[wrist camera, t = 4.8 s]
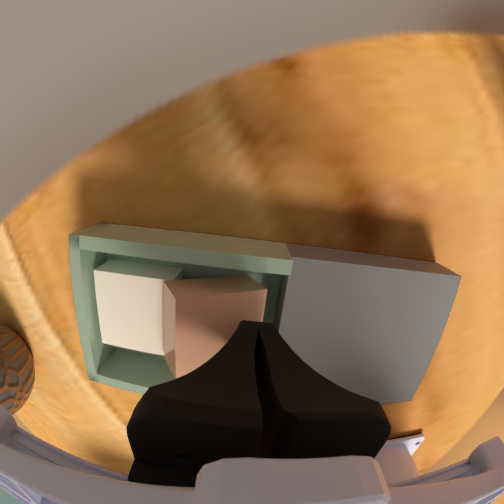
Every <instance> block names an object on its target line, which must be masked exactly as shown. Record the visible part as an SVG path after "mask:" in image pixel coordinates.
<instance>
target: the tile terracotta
mask: <svg viewBox="0 0 504 504" xmlns="http://www.w3.org/2000/svg"><path fill="white" fill-rule="evenodd" d="M266 296H267V288H265V287H264V286H262V285H261V284H259V283H258V282H256V281H255V280H253V279H252V278H250V277H249V276H248V275H237V276H225V277H211V278H197V279H183V280H168V281H163V325H164V356H165V360H166V362H167V364H168V366H169V368H170V370H171V372H172V374H173V376H174V378H175V379H177V378H179V377H181V376H184V375H186V374H188V373H190V372H192V371H193V370H195V369H197V368H198V367H200V366H201V365H202V364H204V363H205V362H207V361H208V360H209V359H210V358H212V357H213V356H214V355H215V354H216V353H217V352H218V351H219V350H220V349H221V348H222V347H223V346H224V345H225V344H226V343H227V342H228V340H229V339H230V338H231V336H232V335H233V334H234V332H235V331H236V329H237V327H238V325H239V322H240V321H242V320H247V321H257V322H263V316H264V309H265V303H266Z"/></svg>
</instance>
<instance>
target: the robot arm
mask: <svg viewBox="0 0 504 504" xmlns="http://www.w3.org/2000/svg"><path fill="white" fill-rule="evenodd" d="M390 433H391V425H390V423H389V421H388V419H387V416H386V414H385V412H384V410H383V408H382V406H381V405H380V403H379V401H376V400H373V399H370V398H367V397H364V396H361V395H358V394H356V393H353V392H351V391H349V390H347V389H345V388H342V387H341V386H339V385H337V384H335V383H333V382H332V381H330V380H328V379H327V378H325V377H324V376H322V375H321V374H319V373H318V372H316V371H315V370H314V369H313V368H311V367H310V366H309V365H308V364H306V363H305V362H304V361H303V360H302V359H301V358H300V357H299V356H298V355H297V354H296V353H295V352H294V351H293V350H292V349H291V348H290V346H289V345H288V344H287V343H286V341H285V340H284V339H283V338H282V336H281V335H280V334H279V332H278V331H277V329H276V328H275V326H274V325H273V324H272V323H267V322H257V321H247V320H242V321H240V322H239V325H238V327H237V329H236V331H235V332H234V334H233V335H232V336H231V338H230V339H229V340H228V342H227V343H226V344H225V345H224V346H223V347H222V348H221V349H220V350H219V351H218V352H217V353H216V354H215V355H214V356H213V357H212V358H210V359H209V360H208V361H207V362H205V363H204V364H202V365H201V366H200V367H198V368H197V369H195V370H193V371H192V372H190V373H188V374H186V375H184V376H181V377H179V378H177V379H174V380H171V381H168V382H165V383H161V384H158V385H155V386H151V387H149V388H148V390H147V391H146V392H145V394H144V395H143V396H142V398H141V399H140V401H139V402H138V404H137V405H136V407H135V409H134V411H133V414H132V416H131V418H130V420H129V423H128V425H127V436H128V439H129V442H130V446H131V449H132V452H133V455H134V458H135V459H134V462H133V465H132V468H131V470H130V473H129V475H126V474H122V473H119V472H116V471H113V470H110V469H107V468H105V467H102V466H99V465H96V464H94V463H91V462H89V461H86V460H84V459H81V458H79V457H76V456H74V455H72V454H70V453H67V452H65V451H63V450H61V449H59V448H57V447H55V446H53V445H51V444H49V443H47V442H45V441H43V440H41V439H39V438H37V437H35V436H34V435H32V434H30V433H28V432H26V431H25V430H23V429H21V428H20V427H18V426H17V423H16V421H15V419H14V417H13V416H12V414H11V413H10V412H9V411H8V410H7V409H6V408H5V407H3V406H2V405H0V487H2V488H3V489H4V490H5V491H7V492H8V493H9V494H11V495H12V496H14V497H15V498H16V499H18V500H19V501H21V502H22V503H24V504H490V503H492V502H493V501H494V500H495V499H497V498H498V497H499V496H500V495H501V494H502V493H503V492H504V444H503V442H502V441H501V439H500V438H499V437H494V438H492V439H490V440H488V441H486V442H484V443H482V444H480V445H479V446H478V447H477V448H476V449H475V450H474V451H473V452H472V453H471V454H470V456H469V458H468V459H465V460H463V461H460V462H458V463H455V464H453V465H450V466H448V467H445V468H442V469H440V470H437V471H434V472H431V473H428V474H424V475H421V476H420V474H419V472H418V469H417V467H416V465H415V463H414V461H413V459H412V457H411V456H412V454H413V453H414V452H415V451H416V449H417V448H418V447H419V445H420V444H421V443H422V441H423V440H424V438H425V436H424V434H418V435H413V436H408V437H403V438H398V439H392V440H387V439H388V437H389V435H390Z"/></svg>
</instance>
